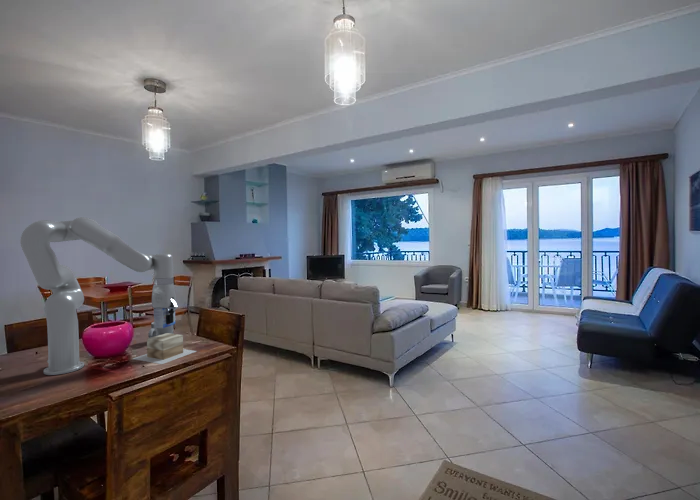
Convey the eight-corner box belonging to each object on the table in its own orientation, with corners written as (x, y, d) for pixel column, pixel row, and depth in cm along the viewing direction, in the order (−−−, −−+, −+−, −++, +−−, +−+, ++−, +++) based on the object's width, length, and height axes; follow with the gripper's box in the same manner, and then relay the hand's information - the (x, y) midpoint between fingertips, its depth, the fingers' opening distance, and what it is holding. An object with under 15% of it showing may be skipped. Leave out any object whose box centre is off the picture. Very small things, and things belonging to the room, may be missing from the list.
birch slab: (147, 347, 150) (146, 338, 150) (167, 341, 159) (167, 333, 159) (163, 350, 146) (163, 341, 146) (183, 343, 155) (182, 335, 155)
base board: (132, 360, 148) (132, 358, 148) (168, 348, 165) (168, 346, 165) (161, 366, 141) (161, 364, 141) (197, 353, 157) (197, 351, 157)
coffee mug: (164, 338, 184) (164, 319, 183) (177, 340, 180) (177, 320, 179) (140, 344, 172) (140, 324, 171) (153, 347, 167) (153, 326, 167)
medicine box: (162, 328, 148) (162, 308, 148) (153, 328, 149) (153, 308, 149) (175, 324, 156) (175, 305, 156) (167, 323, 157) (166, 304, 157)
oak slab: (147, 356, 150) (147, 347, 150) (167, 350, 159) (167, 341, 159) (163, 359, 146) (163, 350, 146) (183, 352, 155) (183, 343, 155)
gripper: (142, 282, 152) (143, 323, 152) (170, 283, 145) (171, 326, 146) (158, 280, 159) (159, 319, 159) (185, 281, 152) (186, 322, 153)
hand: (165, 322), depth 152 cm, fingers closed on medicine box, 5 cm apart
